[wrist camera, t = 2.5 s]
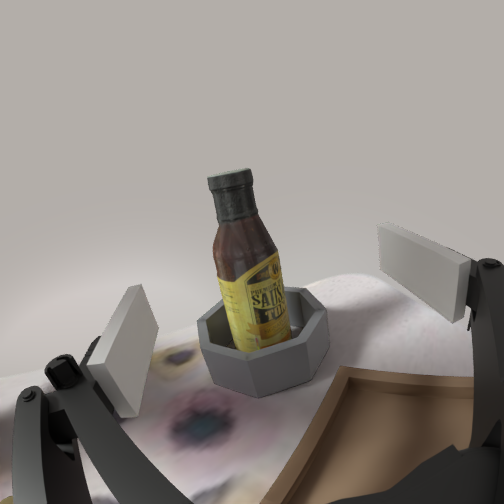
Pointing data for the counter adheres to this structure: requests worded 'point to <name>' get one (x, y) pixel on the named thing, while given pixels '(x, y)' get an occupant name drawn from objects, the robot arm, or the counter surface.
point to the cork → (7, 500)
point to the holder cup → (266, 349)
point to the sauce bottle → (247, 265)
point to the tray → (374, 434)
